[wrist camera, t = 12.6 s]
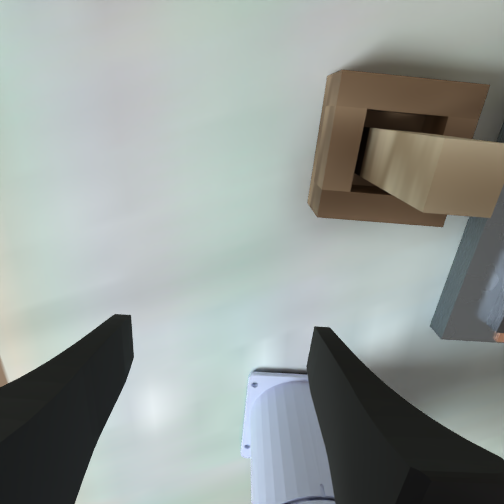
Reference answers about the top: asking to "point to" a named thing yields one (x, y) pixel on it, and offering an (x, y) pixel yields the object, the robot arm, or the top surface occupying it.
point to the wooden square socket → (386, 117)
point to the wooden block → (433, 170)
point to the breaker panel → (476, 282)
